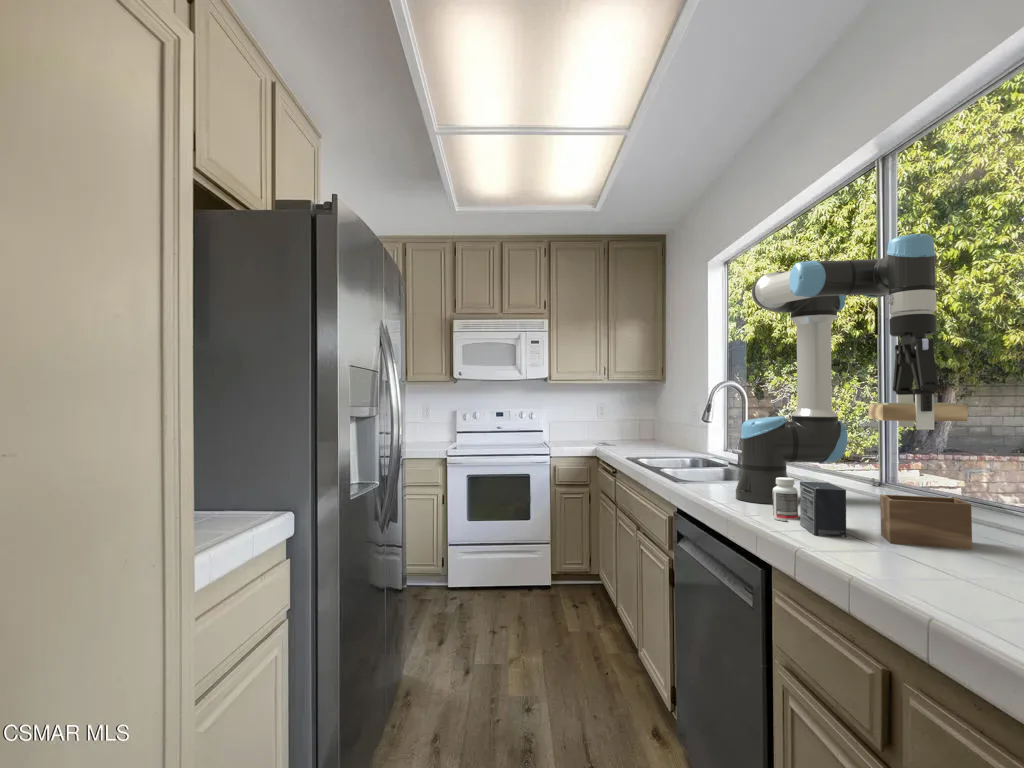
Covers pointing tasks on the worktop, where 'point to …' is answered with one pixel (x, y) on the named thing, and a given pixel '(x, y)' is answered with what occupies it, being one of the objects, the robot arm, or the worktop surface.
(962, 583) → the worktop surface
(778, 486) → the pill bottle
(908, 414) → the lid
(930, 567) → the worktop surface
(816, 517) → the small box
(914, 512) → the tea box
